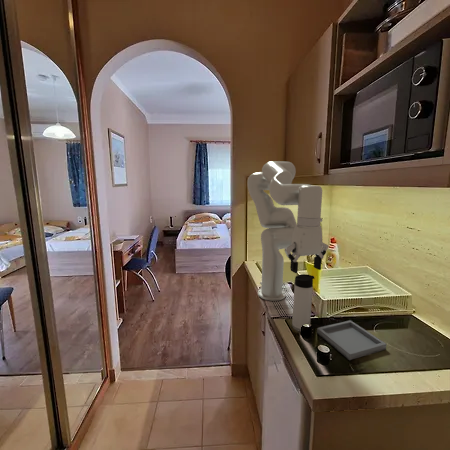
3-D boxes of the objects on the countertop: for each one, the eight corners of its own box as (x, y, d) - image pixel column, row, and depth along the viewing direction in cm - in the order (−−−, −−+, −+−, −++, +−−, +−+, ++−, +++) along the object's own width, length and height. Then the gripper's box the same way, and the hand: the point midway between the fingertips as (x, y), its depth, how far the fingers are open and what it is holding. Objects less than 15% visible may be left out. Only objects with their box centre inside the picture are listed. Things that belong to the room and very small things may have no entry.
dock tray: (316, 333, 96) (317, 327, 96) (350, 325, 102) (350, 320, 101) (349, 360, 83) (350, 354, 82) (385, 349, 88) (386, 343, 87)
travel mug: (311, 333, 96) (315, 280, 93) (292, 330, 98) (295, 278, 94) (309, 323, 102) (313, 273, 99) (291, 321, 104) (294, 271, 100)
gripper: (321, 219, 99) (318, 264, 102) (280, 221, 93) (278, 269, 96) (336, 222, 92) (333, 270, 95) (293, 225, 86) (290, 277, 89)
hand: (305, 270), depth 95 cm, fingers open, 9 cm apart
